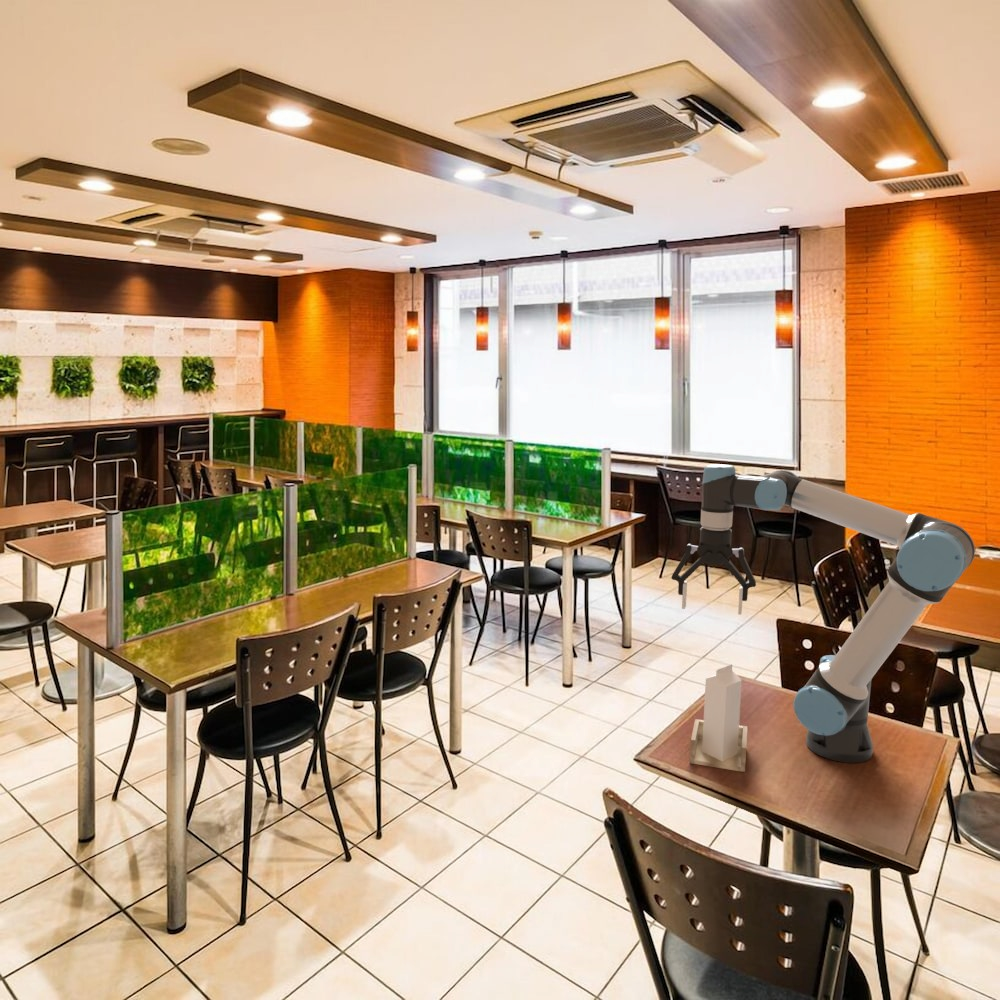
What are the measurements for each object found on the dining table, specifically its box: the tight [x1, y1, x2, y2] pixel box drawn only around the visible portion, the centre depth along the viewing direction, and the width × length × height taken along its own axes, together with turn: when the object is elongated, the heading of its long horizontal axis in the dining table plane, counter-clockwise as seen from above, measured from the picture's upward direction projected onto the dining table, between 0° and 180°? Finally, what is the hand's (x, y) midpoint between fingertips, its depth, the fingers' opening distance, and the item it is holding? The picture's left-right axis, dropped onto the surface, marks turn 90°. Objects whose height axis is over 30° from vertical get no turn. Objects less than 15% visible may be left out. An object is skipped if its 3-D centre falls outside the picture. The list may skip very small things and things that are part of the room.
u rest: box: [689, 718, 748, 773], centre depth 187 cm, size 12×12×6 cm
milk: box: [702, 663, 743, 761], centre depth 185 cm, size 6×6×22 cm
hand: (711, 610), depth 195 cm, fingers open, 13 cm apart
